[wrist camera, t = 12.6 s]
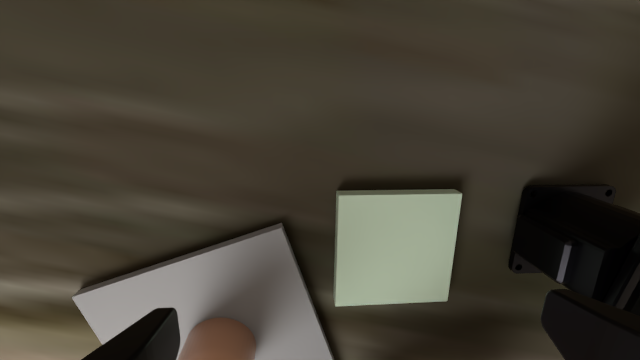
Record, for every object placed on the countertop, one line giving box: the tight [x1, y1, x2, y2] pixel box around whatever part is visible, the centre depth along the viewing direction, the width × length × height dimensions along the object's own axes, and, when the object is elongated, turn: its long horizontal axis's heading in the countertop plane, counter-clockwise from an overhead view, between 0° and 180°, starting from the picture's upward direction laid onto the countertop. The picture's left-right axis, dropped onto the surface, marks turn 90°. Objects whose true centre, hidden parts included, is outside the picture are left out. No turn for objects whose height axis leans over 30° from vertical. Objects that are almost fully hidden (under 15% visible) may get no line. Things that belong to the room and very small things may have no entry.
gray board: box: [72, 223, 334, 360], centre depth 22 cm, size 14×14×1 cm
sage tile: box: [333, 189, 462, 306], centre depth 21 cm, size 8×8×1 cm
